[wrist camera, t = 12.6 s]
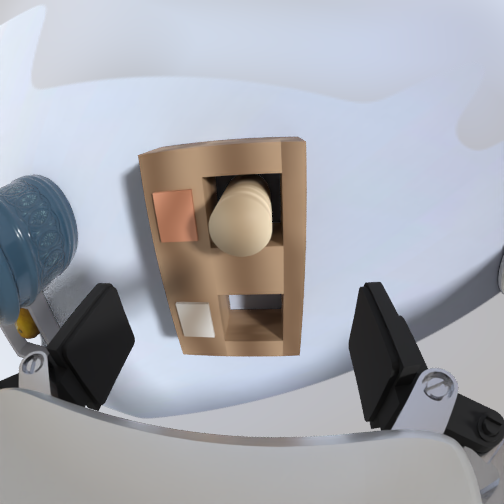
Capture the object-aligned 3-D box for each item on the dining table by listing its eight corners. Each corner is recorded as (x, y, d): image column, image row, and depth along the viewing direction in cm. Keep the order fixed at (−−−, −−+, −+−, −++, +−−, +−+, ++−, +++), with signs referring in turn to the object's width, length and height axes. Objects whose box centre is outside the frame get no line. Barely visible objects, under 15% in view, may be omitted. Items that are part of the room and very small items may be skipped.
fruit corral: (41, 290, 32) (28, 303, 29) (76, 357, 38) (68, 372, 35) (-5, 285, 33) (-16, 296, 30) (26, 344, 39) (18, 356, 36)
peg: (269, 171, 24) (271, 196, 17) (271, 214, 26) (273, 255, 18) (224, 174, 24) (205, 199, 17) (227, 216, 26) (212, 257, 19)
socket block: (298, 136, 22) (306, 141, 17) (296, 323, 31) (299, 357, 26) (161, 147, 23) (136, 155, 18) (193, 323, 32) (182, 356, 27)
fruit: (7, 287, 33) (-5, 299, 30) (40, 309, 34) (28, 323, 31) (14, 319, 37) (4, 331, 33) (45, 340, 38) (35, 353, 35)
